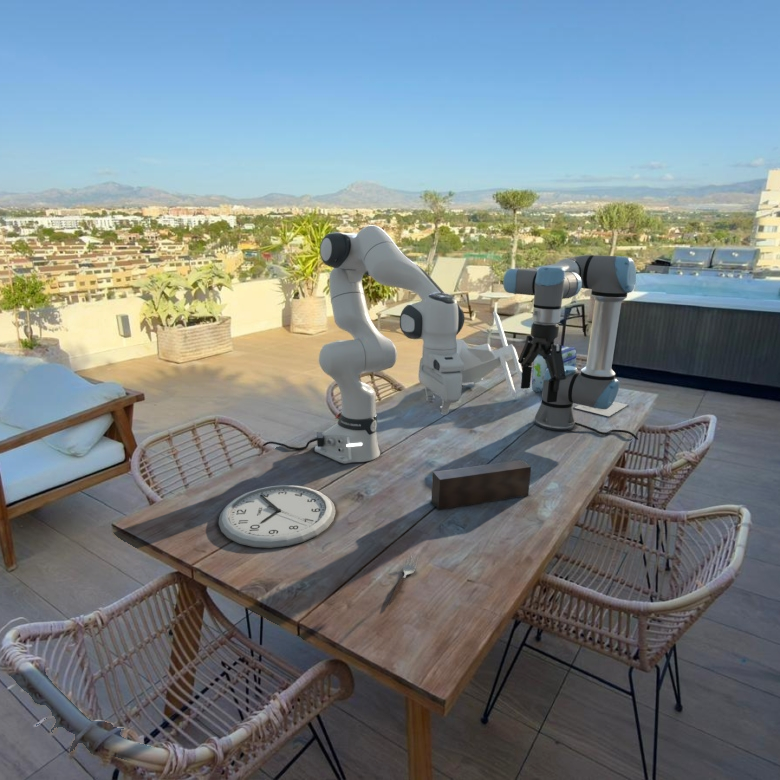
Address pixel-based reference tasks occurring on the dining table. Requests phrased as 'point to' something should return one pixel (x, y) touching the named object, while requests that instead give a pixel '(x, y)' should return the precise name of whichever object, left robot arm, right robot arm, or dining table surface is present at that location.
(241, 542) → the wall clock
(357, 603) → the dining table surface
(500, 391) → the dining table surface
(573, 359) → the lunch box
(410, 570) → the fork
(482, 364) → the white plastic object
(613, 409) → the invitation card
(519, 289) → the right robot arm
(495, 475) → the walnut beam
